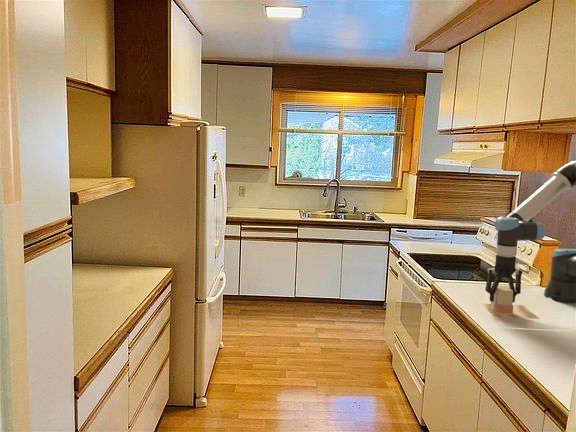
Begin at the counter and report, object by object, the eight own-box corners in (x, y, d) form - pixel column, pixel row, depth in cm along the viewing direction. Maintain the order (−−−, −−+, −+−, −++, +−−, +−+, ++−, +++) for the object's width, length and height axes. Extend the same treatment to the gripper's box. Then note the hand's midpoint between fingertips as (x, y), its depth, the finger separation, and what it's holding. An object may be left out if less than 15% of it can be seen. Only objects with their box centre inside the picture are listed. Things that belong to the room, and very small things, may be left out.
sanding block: (504, 308, 203) (507, 285, 202) (512, 315, 195) (515, 291, 193) (490, 307, 203) (492, 285, 202) (497, 314, 195) (499, 290, 194)
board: (523, 306, 208) (523, 305, 207) (539, 319, 192) (540, 318, 192) (481, 304, 209) (481, 303, 209) (493, 317, 193) (494, 316, 193)
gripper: (525, 253, 199) (520, 307, 202) (479, 252, 200) (475, 305, 203) (533, 258, 191) (528, 313, 195) (485, 256, 193) (481, 311, 196)
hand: (501, 309), depth 199 cm, fingers closed on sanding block, 6 cm apart
